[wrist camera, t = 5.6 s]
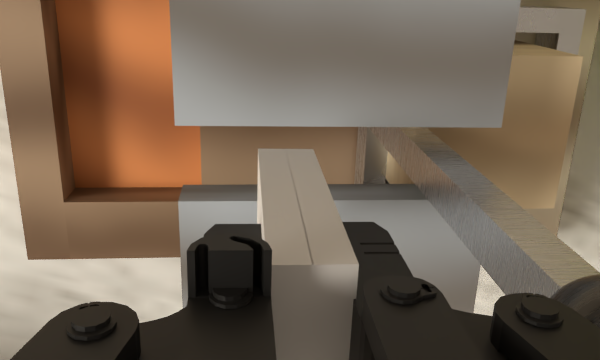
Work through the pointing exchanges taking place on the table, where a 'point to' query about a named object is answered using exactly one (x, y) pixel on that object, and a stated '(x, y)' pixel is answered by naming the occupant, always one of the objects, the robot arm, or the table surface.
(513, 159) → the block
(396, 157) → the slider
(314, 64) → the bench vise
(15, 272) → the table surface
